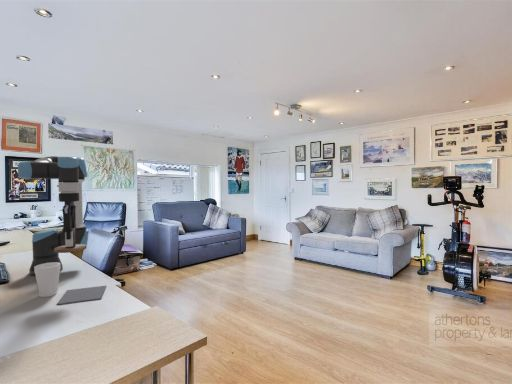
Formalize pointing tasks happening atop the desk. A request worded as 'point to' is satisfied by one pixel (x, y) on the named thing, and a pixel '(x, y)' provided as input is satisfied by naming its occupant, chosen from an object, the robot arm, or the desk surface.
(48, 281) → the foam cup
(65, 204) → the robot arm
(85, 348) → the desk surface
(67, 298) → the mat
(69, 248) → the lid
